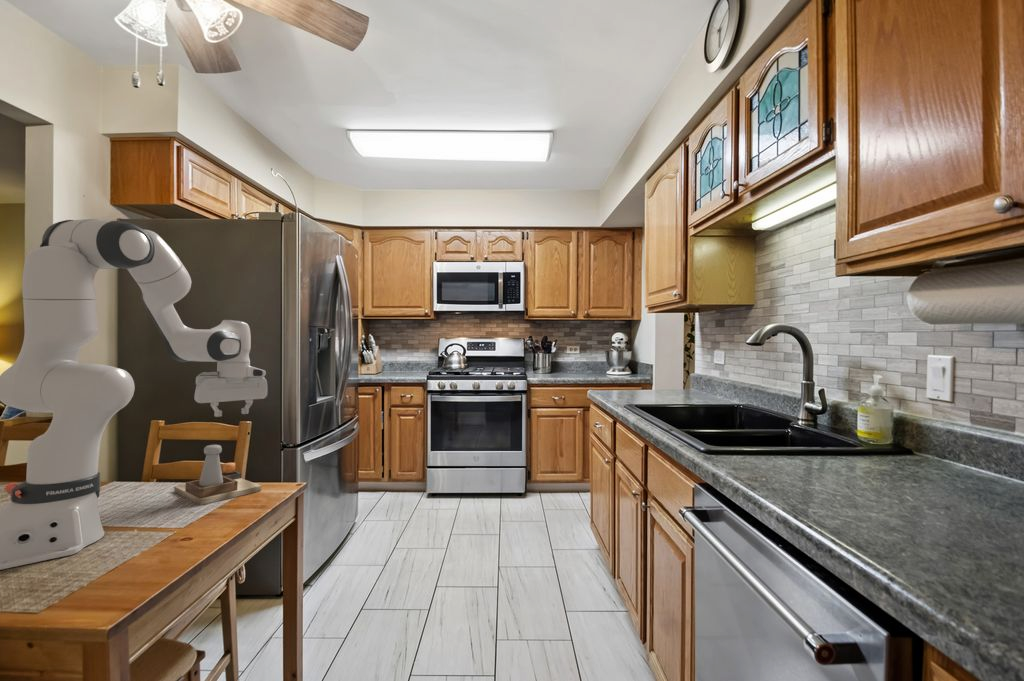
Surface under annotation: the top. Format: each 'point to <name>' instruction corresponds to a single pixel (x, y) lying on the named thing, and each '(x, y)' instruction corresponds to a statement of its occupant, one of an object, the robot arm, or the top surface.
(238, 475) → the pallet board
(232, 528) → the top surface
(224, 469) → the button
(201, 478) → the salt shaker
